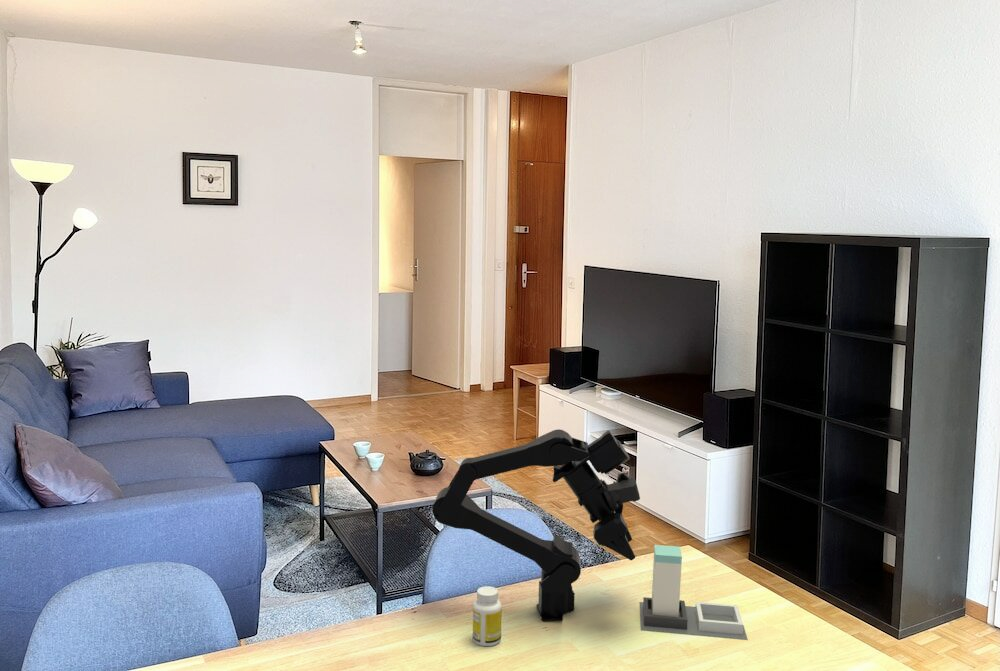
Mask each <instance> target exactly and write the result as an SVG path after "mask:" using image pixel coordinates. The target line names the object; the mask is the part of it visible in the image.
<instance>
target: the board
mask: <svg viewBox="0 0 1000 671" xmlns="http://www.w3.org/2000/svg"><path fill="white" fill-rule="evenodd" d="M642 599H643V601H640V602H639V619H640V621H639V622H640V623H639V625H640V626H639V627H640V631H642V632H643V631H644V632H652V633H653V632H654V633H665V634H675V635H676V634H677V635H687V636H698V637H699V636H700V637H709V638H717V639H718V638H720V639H729V640H730V639H731V640H732V639H733V640H742V641H748V640H749V639H748V636H747V633H746V629H745V626H744V623H743V619H742V615H741V613H740V610H739V606H738V605H737V604H726V603H717V602H716V603H715V602H703V601H702V602H701V601H695V606H690V605H686V603H685V600H683V599H682V600H679V617H671V616H659V615H651V603H652V597H644V596H643V598H642Z"/></svg>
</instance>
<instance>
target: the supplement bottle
mask: <svg viewBox="0 0 1000 671" xmlns="http://www.w3.org/2000/svg"><path fill="white" fill-rule="evenodd" d="M476 598H477V599H476V600H475V601H473V605H472V606H473V607H472V640H473V642H474V643H475V644H476V645H479V646H484V647H493V646H495V645H498V644H499V643H501V640H502V616H503V614H502V613H503V612H502V607H503V606H502V603H501V601H500V600H499V589H498V588H496V587H494V586H480V587H479V588H478V589H477V591H476Z"/></svg>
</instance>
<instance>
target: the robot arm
mask: <svg viewBox="0 0 1000 671" xmlns="http://www.w3.org/2000/svg"><path fill="white" fill-rule="evenodd" d="M630 459H631V458H630V455H629V454H628V452H627V451H626V449H625V448H624V446H623V445H622V443H621V441H620V440H618V439H617V438H616V437H615V436H614V435H613V433H612V432H611V431H610V430H607V431H605V432H604V433H602V435H601V436H599V437H598V438H596V439H594V440H593V441H592V442H591V443H588V442H587V441H584V440H582V439H578V438H575V437H573V436H572V435H571V434H569V433H568V432H567V431H566V430H563V429H554V430H551V431H549V432H547V433H545V434H543V435H540V436H538V437H537V438H535V439H533V440H532V441H529V442H528V443H526V444H521V445H518V446H513V447H510V448H507V449H502V450H498V451H495V452H491V453H487V454H483V455H478V456H475V457H466V458H464V459H462V461H461V463H460V465H459V468H458V470H457V471H456V473H455V475H454V476H453V478H452V479H451V481H450V483H449V485H448V486H447V487H444V488H442V489H441V490H440V491H439V492H438V493H437V495H436V498H435V500H434V503H433V506H432V515H433V518H434V519H435V520H436V521H437V523H439V524H441V525H444V526H448V527H451V528H454V529H458V530H459V529H461V530H471V531H473V532H475V533H477V534H480V535H481V536H483V537H486V538H488V539H489V540H492V541H493V542H495V543H497V544H499V545H501V546H503V547H506V548H507V549H509V550H511V551H513V552H515V553H517V554H518V555H519V554H520V555H521V556H523V557H525V558H527V559H529V560H531V561H533V562H535V564H536V565H537V566H538V567H540V569H541V578H540V580H539V581H538V601H537V602H538V603H536V605H535V606H536V609H537V611H538V614H539V617H540V620H541V621H543V622H544V621H545V622H546V621H547V622H548V621H549V622H550V621H563V618H564V615H566V614H567V613H571V612H574V611H575V597H576V596H575V594H576V593H575V592H574V589H573V586H572V584H573V583H575V582H576V581H577V580H579V578H580V576H581V569H582V568H581V556H580V553H579V550H578V549H577V548H576V547H575V546H573V541H572V542H571V541H567V540H565V539H563V538H561V537H560V536H559V535H556V534H555V535H553V539H552V540H549V539H548V540H547V539H542V538H540V537H538V536H536V535H534V534H532V533H530V532H528V531H526V530H524V529H522V528H520V527H518V526H516V525H514V524H512V523H510V522H508V521H506V520H504V519H502V518H500V517H498V516H496V515H494V514H492V513H490V512H488V511H486V510H484V509H483V508H481V507H480V506H479V505H478V504H477V503H476V502H475V501H474V500H473V499H472V498H471V496H469V495H467V494H468V493H469V490H470V488H471V487H472V485H473V483H474V481H476V480H480V479H484V478H487V477H491V476H492V477H493V476H495V475H500V474H504V473H508V472H510V471H515V470H519V469H524V468H526V467H536V466H537V467H547V468H548V467H553V474H552V482H553V483H557V482H558V481H559V480H561V479H562V478H563V480H564V481H565V483H566V484H567V486H568V487H569V488H570V490H571V491H572V492H573V494H574V495H575V497H576V498H577V503H578V505H580V507H583V508H584V509H585V511H586V512H587V514H588V515H589V520H590V521H591V523H592V524H594V523H595V524H594V526H593V530H592V533H593V539H594V540H595V542H596V543H597V544H598V546H602V547H606V548H608V549H610V550H611V551H613V552H615V553H617V554H619V555H621V556H623V557H624V558H626V559H627V560H629V561H633V560H634V559H636V555H635V553H634V550H633V549H632V548H633V547H632V545H631V544H630V542H631V541H632V540H633V537H632V535H631V533H630V531H629V528H628V525H627V523H626V521H625V519H624V516H623V510H624V504H625V503H630V502H634V503H635V502H638V501H640V500H641V496H640V491H639V488H638V484H637V480H636V478H634V477H633V476H631V477H630V476H629V475H628V474H627V473H626V472H619V473H618V474H617V477H616V480H615V481H613V482H611V483H609V484H607V482H606V481H605V479H602V478H601V479H600V477H598V475H597V473H598V474H599V473H600V474H601V475H603V474H605V475H608V474H609V473H611V472H612V471H614V470H615V469H616V468H618V467H619V466H621V465H623V464H624V463H626V462H628V461H629V460H630ZM589 463H590V464H591V465H590V464H589ZM591 466H592V467H591ZM593 468H594V469H593ZM594 470H595V471H596V472H595V471H594Z"/></svg>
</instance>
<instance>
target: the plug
mask: <svg viewBox="0 0 1000 671" xmlns="http://www.w3.org/2000/svg"><path fill="white" fill-rule="evenodd" d="M682 560H683V556H682V551H681V546H678V545H677V546H676V545H661V544H654V549H653V564H652V565H653V566H652V568H653V569H652V586H651V598H652V603H651V615H659V616H671V617H679V600H680V598H681V597H680V596H681V595H680V594H681V583H682V582H681V580H682V579H681V578H682Z"/></svg>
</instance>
